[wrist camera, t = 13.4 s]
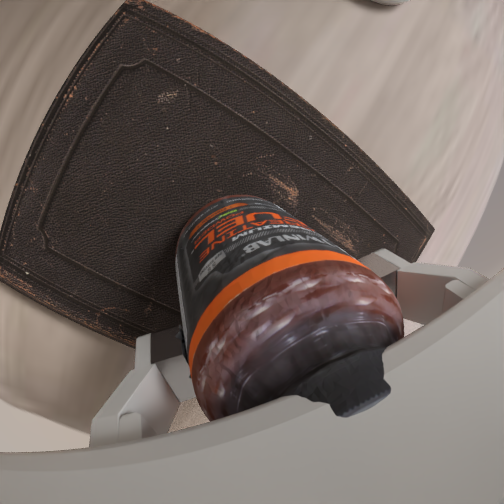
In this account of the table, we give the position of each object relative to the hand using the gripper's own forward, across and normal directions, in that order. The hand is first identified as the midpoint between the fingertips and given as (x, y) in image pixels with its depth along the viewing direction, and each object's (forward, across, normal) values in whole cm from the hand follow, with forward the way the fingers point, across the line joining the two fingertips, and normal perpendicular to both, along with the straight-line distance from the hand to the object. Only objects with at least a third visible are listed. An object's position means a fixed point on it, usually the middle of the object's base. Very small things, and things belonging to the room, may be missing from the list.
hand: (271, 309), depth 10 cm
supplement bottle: (+6, 0, 0) cm, 6 cm away
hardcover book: (+8, 0, 0) cm, 8 cm away
